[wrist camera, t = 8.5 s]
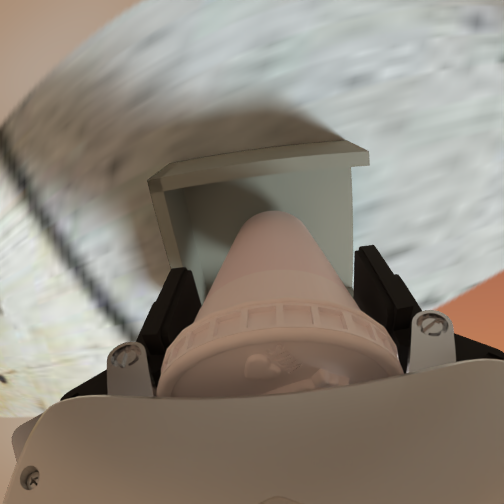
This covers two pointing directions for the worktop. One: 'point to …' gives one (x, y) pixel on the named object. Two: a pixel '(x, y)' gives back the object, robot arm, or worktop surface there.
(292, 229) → the smoothie
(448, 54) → the worktop surface
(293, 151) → the bay
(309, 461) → the robot arm
